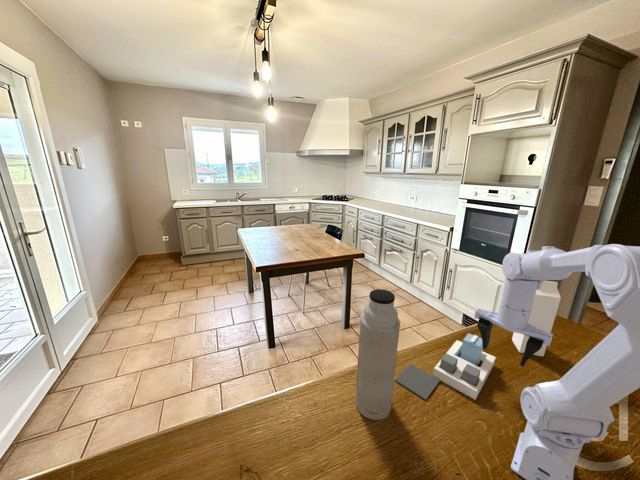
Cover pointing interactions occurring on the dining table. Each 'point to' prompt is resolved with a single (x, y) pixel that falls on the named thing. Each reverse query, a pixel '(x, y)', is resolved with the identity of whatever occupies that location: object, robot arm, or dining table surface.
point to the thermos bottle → (377, 355)
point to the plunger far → (448, 363)
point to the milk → (541, 314)
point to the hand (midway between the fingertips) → (503, 355)
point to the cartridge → (472, 349)
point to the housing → (455, 378)
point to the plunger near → (471, 374)
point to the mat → (417, 381)
